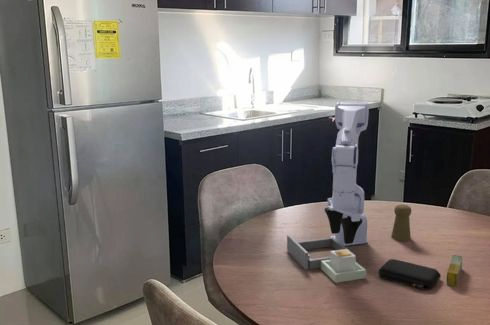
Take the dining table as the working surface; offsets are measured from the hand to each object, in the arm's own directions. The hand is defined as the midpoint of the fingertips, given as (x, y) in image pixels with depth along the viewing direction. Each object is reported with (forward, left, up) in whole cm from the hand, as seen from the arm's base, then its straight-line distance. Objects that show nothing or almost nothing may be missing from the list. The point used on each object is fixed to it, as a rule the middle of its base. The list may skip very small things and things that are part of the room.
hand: (341, 237), depth 132 cm
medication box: (-27, +12, -10) cm, 32 cm away
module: (0, +1, -9) cm, 9 cm away
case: (+1, -11, -10) cm, 15 cm away
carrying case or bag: (-15, +9, -10) cm, 21 cm away
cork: (-30, -16, -10) cm, 36 cm away
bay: (0, +1, -10) cm, 10 cm away
